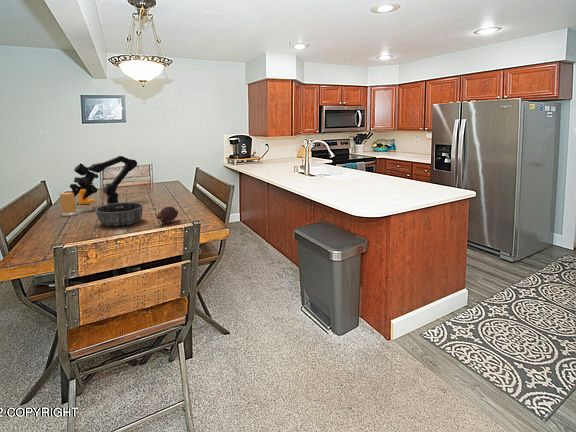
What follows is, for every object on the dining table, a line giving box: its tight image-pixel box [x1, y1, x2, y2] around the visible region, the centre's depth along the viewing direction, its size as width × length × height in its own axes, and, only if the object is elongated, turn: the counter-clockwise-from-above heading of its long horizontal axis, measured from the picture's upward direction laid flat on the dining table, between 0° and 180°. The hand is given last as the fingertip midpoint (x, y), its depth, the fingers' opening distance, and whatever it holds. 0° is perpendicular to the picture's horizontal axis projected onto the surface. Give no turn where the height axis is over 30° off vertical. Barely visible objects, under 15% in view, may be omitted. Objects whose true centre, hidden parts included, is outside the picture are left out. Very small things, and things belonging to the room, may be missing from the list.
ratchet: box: [61, 206, 94, 218], centre depth 253 cm, size 22×9×5 cm, turn 163°
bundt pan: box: [94, 201, 144, 227], centre depth 226 cm, size 26×26×10 cm
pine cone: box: [155, 206, 179, 225], centre depth 226 cm, size 18×10×10 cm, turn 157°
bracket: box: [77, 189, 95, 205], centre depth 282 cm, size 11×7×12 cm, turn 4°
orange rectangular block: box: [59, 192, 77, 213], centre depth 246 cm, size 6×6×12 cm
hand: (77, 198), depth 253 cm, fingers open, 9 cm apart
